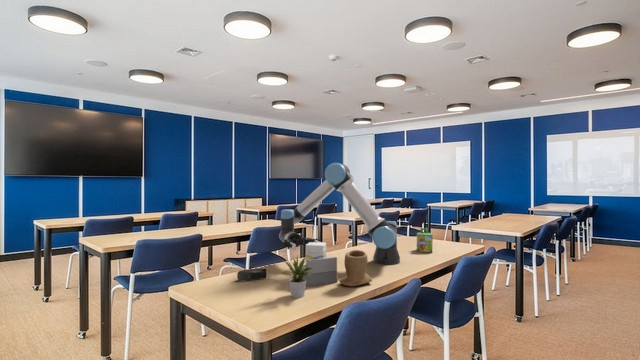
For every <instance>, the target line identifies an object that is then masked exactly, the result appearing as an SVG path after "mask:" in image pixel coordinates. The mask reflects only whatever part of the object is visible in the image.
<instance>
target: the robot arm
mask: <svg viewBox="0 0 640 360" xmlns="http://www.w3.org/2000/svg"><path fill="white" fill-rule="evenodd" d="M324 178H325V180H324V181H323V182H322V183H321V184H320V185H319V186H318V187H316V188H315V189H314V190H313V191H312V192H311V193H310V194H309V195H308V196H307V197H306V198H304V200H303V201H302V202H301V203H299V204H298V205H297V206H296V207H295V208H294V209H290V208H289V209H282V210H281V211H280V232H279V234H278V238H279V239H280V241H281V242H282V243H283V248H284V249H286V248H287V249H286V250H290V249H291V250H294V251H296V250H297V248H298V247H300V246H306V245H307V244H308V243H309V242H321V239H319V238H312V237H311V238H310V237H303V236H301V234H299V233H297V232H295V224H299V223H300V222H301V221H302V220H303V219H304V218H305V217H307V215H308V214H309V213H310V212H311V211H313V209H315V207H316V206H318V205H319V204H320V203H321V202H323V200H324V199H326V197H328V196H329V195H330V194H331V193H332V192H333V191H334V190H335V191H337V192H340V193H341V195H343V196H344V198H345V199H346V201H347V202H348V203H349V205H350V206H351V207H352V208H353V210H354V212H355V213H356V214H357V215H358V217H359V218H360V219H361V221H362V222H363V223H364V225H365V226H366V227H367V228H366V231H367V233H368V235H369V236H370V237H371V239H372V240H371V241H372V243H373V244H374V245H375V249H374V250H375V251H374V254H373V256H372V261H373V262H374V263H377V264H379V265H380V264H381V265H396V264H397V265H398V263H400V262H401V257H400V253H399V251H398V244H397V243H398V242H397V240H398V237H397V236H398V235H397V233H398V231H397V228H398V225H397V222H396V221H393V220H392V221H391V220H386V219H385V217H384V218H383V217H381V216H380V215H379V214H378V213H377V211H376V210H375V209H374V207H373V206H372V204H370V202H369V201H368V199H366V197H365V196H364V195H363V193H362V192H361V190H360V189H359V188H358V186H357V185H356V184H355V183H354V176H353V175H352V174H351V171H350V169H349V167H348V166H347V165H345V164H343V163H339V162H333V163H330V164H329V165H327V167H326V168H325V170H324Z"/></svg>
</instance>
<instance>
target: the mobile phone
mask: <svg viewBox="0 0 640 360" xmlns="http://www.w3.org/2000/svg"><path fill="white" fill-rule="evenodd" d="M267 273H268V272H267V268H250V269H249V268H248V269H242V270H239V271H237V279H236V280H234V282H235V283H238V282H249V281H257V280H259V281H260V280H265V279H267Z"/></svg>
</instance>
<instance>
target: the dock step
mask: <svg viewBox="0 0 640 360" xmlns="http://www.w3.org/2000/svg"><path fill="white" fill-rule="evenodd" d="M311 260H312V261H311ZM309 261H310V262H309ZM308 262H309V263H308ZM307 263H308V264H307V268H315V269H310V270H307V271H306V272H312V273H313V274H311V273H307V274H310V276H309V275H305V276H304V277H303V278H304V279H306V285H307V287H313V286H318V285H319V286H320V284H321V285H327V284H334V283H338V271H337V270H338V258H337V256H331V257H326V258H320V259H310V260H307ZM302 267H304V265H303V266H302ZM304 268H305V269H306V266H305V267H304ZM302 269H303V268H302ZM303 270H304V269H303ZM301 271H302V270H301ZM306 272H305V274H306Z"/></svg>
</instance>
